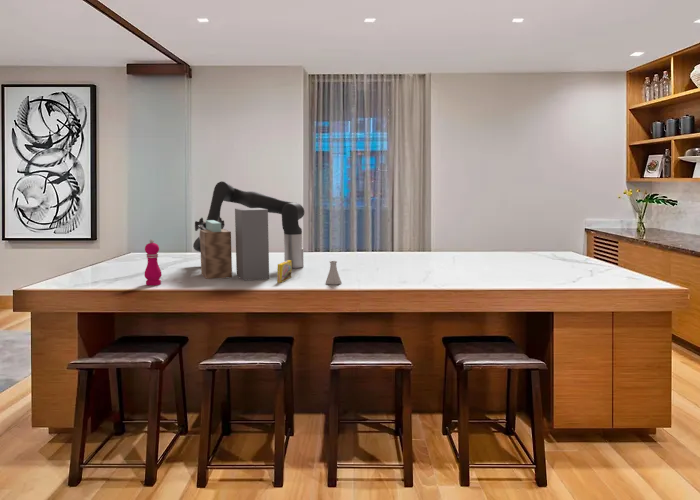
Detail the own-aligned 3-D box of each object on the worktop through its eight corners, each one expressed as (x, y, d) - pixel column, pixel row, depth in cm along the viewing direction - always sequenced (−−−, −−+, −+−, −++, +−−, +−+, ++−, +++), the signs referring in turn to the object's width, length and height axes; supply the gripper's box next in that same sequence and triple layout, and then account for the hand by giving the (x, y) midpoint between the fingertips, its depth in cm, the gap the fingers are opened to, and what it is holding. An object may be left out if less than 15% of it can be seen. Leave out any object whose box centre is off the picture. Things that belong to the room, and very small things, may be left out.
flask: (324, 282, 291) (324, 260, 290) (341, 282, 292) (341, 260, 290) (325, 285, 284) (325, 262, 283) (342, 285, 284) (342, 262, 283)
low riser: (226, 272, 322) (224, 229, 320) (232, 277, 307) (230, 231, 305) (201, 274, 318) (199, 229, 315) (206, 278, 303) (204, 232, 301)
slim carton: (214, 228, 325) (213, 220, 325) (221, 231, 305) (221, 223, 304) (205, 228, 324) (205, 220, 324) (212, 232, 304) (212, 223, 303)
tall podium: (261, 274, 317) (259, 207, 313) (269, 278, 302) (267, 209, 298) (236, 275, 313) (234, 208, 309) (243, 280, 298) (241, 210, 294)
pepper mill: (165, 283, 291) (163, 238, 289) (155, 286, 284) (153, 240, 282) (151, 282, 293) (149, 238, 291) (141, 285, 286) (139, 239, 284)
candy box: (281, 283, 291) (281, 264, 290) (277, 282, 292) (276, 264, 291) (292, 277, 307) (291, 259, 306) (287, 277, 308) (287, 259, 307)
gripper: (192, 226, 332) (195, 212, 318) (220, 226, 337) (224, 211, 323) (193, 240, 330) (197, 226, 316) (222, 239, 335) (226, 225, 321)
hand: (211, 218), depth 320 cm, fingers open, 8 cm apart
